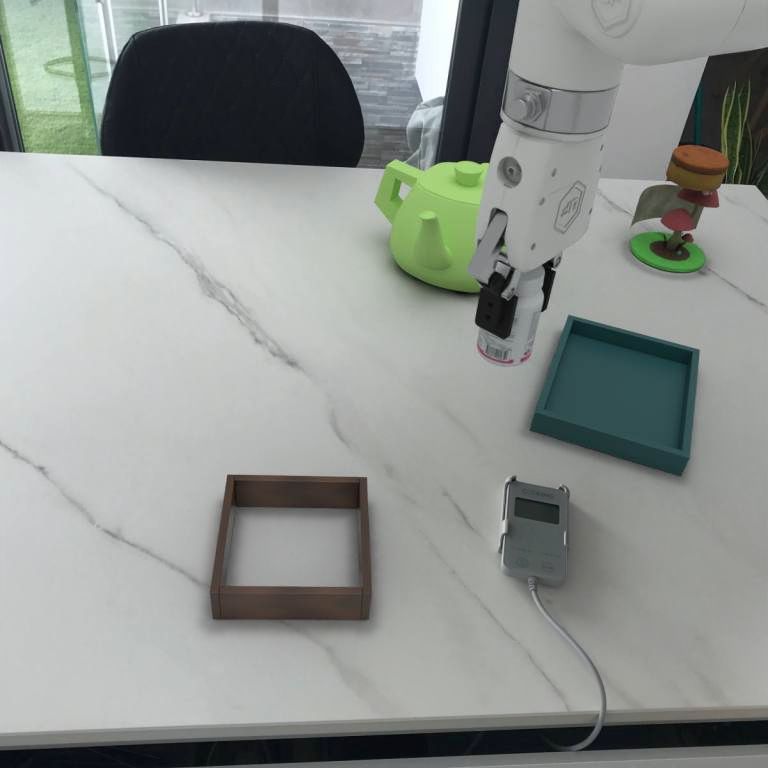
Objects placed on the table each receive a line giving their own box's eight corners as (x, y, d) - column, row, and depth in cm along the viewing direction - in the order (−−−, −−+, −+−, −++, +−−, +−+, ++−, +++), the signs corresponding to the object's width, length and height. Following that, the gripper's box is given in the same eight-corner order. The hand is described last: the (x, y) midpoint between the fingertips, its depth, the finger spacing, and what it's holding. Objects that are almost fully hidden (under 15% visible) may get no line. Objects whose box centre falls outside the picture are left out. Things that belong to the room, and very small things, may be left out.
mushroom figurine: (730, 267, 111) (771, 169, 102) (658, 279, 107) (695, 178, 97) (678, 228, 119) (711, 133, 110) (610, 238, 115) (639, 140, 106)
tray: (681, 476, 78) (689, 458, 76) (529, 430, 81) (534, 411, 80) (692, 366, 92) (700, 349, 90) (563, 331, 96) (568, 314, 94)
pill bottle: (513, 331, 70) (531, 249, 64) (540, 363, 66) (562, 278, 61) (466, 340, 68) (480, 256, 63) (491, 373, 65) (509, 287, 59)
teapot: (490, 227, 115) (507, 133, 106) (546, 303, 100) (573, 201, 91) (367, 236, 110) (375, 138, 101) (409, 316, 95) (421, 210, 86)
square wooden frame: (364, 502, 72) (367, 476, 69) (368, 620, 62) (371, 594, 60) (229, 500, 71) (227, 474, 68) (212, 619, 61) (209, 593, 59)
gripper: (538, 149, 46) (489, 383, 58) (661, 90, 57) (599, 298, 68) (439, 112, 50) (412, 339, 62) (573, 62, 60) (528, 265, 72)
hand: (511, 315), depth 65 cm, fingers closed on pill bottle, 4 cm apart
